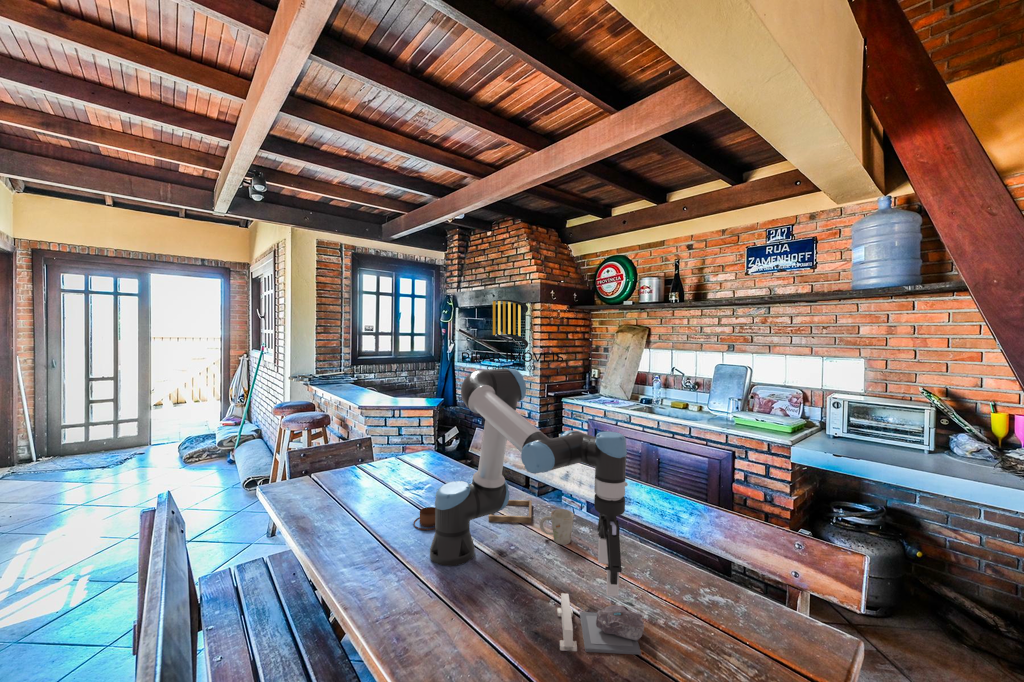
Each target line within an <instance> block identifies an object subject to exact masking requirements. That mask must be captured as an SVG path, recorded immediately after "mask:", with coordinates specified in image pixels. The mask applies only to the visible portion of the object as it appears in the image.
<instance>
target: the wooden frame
mask: <svg viewBox="0 0 1024 682" xmlns="http://www.w3.org/2000/svg"><path fill="white" fill-rule="evenodd" d="M532 503H533V501H532V499H531V500H527V499H526V500H525V499H509V501H508V504H507V505H506V506H508V505H509V506H527V507H528V515H503V514H501V515H500V514H497V515H496V514H489V515H488V522H498V523H513V524H515V523H519V524H532V506H533V505H532Z"/></svg>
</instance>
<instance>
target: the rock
mask: <svg viewBox="0 0 1024 682" xmlns="http://www.w3.org/2000/svg"><path fill="white" fill-rule="evenodd" d="M596 613H597V619H596V626H597V627H598V628H599V629H601V630H603V631H604V633H608V634H615V635H617V636H621V637H623V638H628V639H632V640H636V641H639V640H640V639H641V637H642V636H643V634H644V629H645V624H644V623H645V622H644V620H643V615H642V614H640V613H637V612H634V611H631V610H629V608H628V607H627V606H625V605H622V604H621V605H620V604H613V605H609V606H605V607H604V608H602V609H601V610H597V612H596Z"/></svg>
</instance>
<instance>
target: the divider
mask: <svg viewBox="0 0 1024 682" xmlns="http://www.w3.org/2000/svg"><path fill="white" fill-rule="evenodd" d="M570 603H571V602H570V596H569V593H564V592H562V593H560V607H557V608H556V609H557V610H556V611H557V617H561V628H562V638H563V640H562V639H561V640H559V650H560V651H561V652H562V651H567V652H578V645H577V640H574V638H573V637H574V626H573V621H572V620H573V619H572V618H573V615H574V612H573V608H571V604H570Z"/></svg>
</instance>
